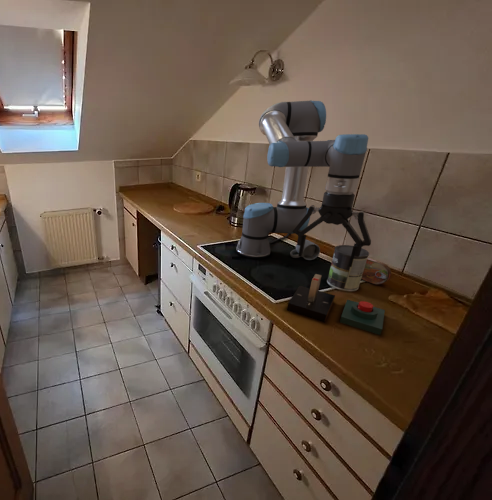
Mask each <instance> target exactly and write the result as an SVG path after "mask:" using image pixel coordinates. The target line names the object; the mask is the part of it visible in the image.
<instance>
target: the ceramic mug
mask: <svg viewBox="0 0 492 500" xmlns="http://www.w3.org/2000/svg"><path fill="white" fill-rule="evenodd" d="M299 250H300V246H299V245H297V244H295V249H292V250H291V251H290V252H289V256H290V257H291V258H293V259H298V258H303V259H304V260H306V261H312V260H315V259H317V258H318V257H319V255H320V253H321V248H320V246H319V244H316V243H315V242H313V241H311V240H308V239H306V240H305V245H304V250H303V254H302V256H301V257H300V256H298V255H299ZM295 253H297V254H295Z"/></svg>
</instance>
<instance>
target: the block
mask: <svg viewBox="0 0 492 500" xmlns="http://www.w3.org/2000/svg"><path fill="white" fill-rule="evenodd" d="M358 304H359V302H358V301H354V300H351V299H346V302H345V304H344V307H343V310H342V314H341V316H340V319H339V323H341V324H344V325H347V326H350V327H353V328H356V329H359V330H363V331H365V332H369V333H371V334H375V335H378V336H381V335H382V331H383V326H384V320H385V309H383V308H379V307H376V306H373V309H372V312H364V311H361V310H359V309H358Z"/></svg>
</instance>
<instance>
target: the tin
mask: <svg viewBox="0 0 492 500" xmlns="http://www.w3.org/2000/svg"><path fill="white" fill-rule="evenodd" d="M391 277H392V270H391V268H390V266H389V265H387V264H386V263H384V262H382V261H379V260H375V259H372V258H370V257H368V258H367V261H366V264H365V268H364V271H363V274H362V278H361V281H365V282H367V283H370V284H373V285H382V284H385V283H387V282H388V281H389V280H390V279H391Z"/></svg>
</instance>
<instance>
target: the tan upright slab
mask: <svg viewBox="0 0 492 500" xmlns="http://www.w3.org/2000/svg"><path fill="white" fill-rule="evenodd" d="M322 277H323V276H322V274H317V273H315V274H314V276H313V278H312V279H311V282H310V286H309V288H310V291H309V296H308V300H307V301H308V302H312V303H314V301H315V299H316V297H317V294H318V291H319V289H320V285H321V280H322Z"/></svg>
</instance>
